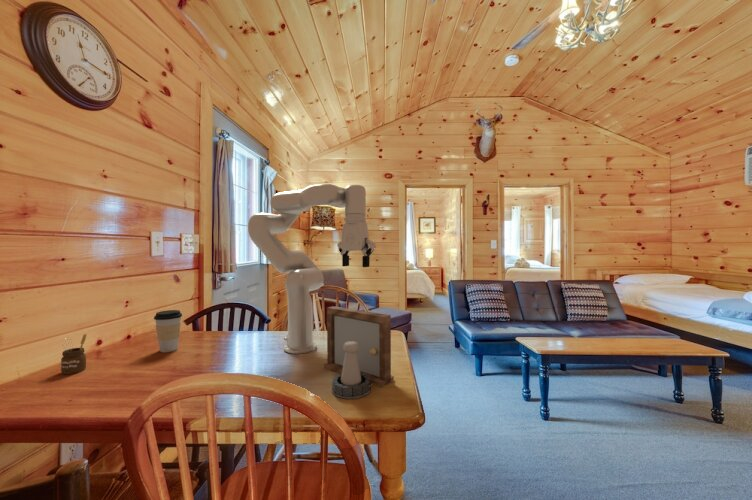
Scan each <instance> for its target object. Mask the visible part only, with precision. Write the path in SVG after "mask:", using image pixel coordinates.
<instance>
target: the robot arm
mask: <svg viewBox="0 0 752 500" xmlns="http://www.w3.org/2000/svg"><path fill="white" fill-rule="evenodd" d="M366 196H367V195H366V188H365V186H363V185H362V184H361V185H360V184H350V185H347V186H346V187H345V188H344V187H340V186H337V185H335V184H331V183H322V184H320V183H319V184H313V185H309V186H306V187H305V188H303V189H298V190H297V189H296V190H290V191H282V192H277V193H275V194H273V196H271V198H270V207H271V208H272V210H273V211H274V212H276V213H278V214H275V213H269V212H260V213H259V212H258V213H255V214H253V215H252V216H250V217H249V220H248V223H247V231H248V235H249V237H250V240H251V241H252V243H254V246H256V247H257V248H258V249H259V250H260V251H261V253H262V254H263V255H264V256H265V258H266V259H267V261H268V262H269V263H270V264H271V265H272V267H274V269H275V270H276V271H277V272H278V273H280V274H287V275H286V277H285V279H284V286H285V291H286V296H287V335H286V336H285V337H284V338H283V340H284V341H286V344H285V345H284V346H283V351H284V352H286V353H289V354H295V355H297V354H298V355H299V354H306V353H307V354H308V353H310V352H312V351H315V350H316V349H317V343H316V342H314V339H313V337H314V335H313V333H314V332H313V330H314V329H313V324H314V323H313V300H312V297H311V294H310V292H313V291H317V290H319V289H320V288H321V287H323V285H324V275H323V273H322V271H321V269H320V268H319V267H318V266H317V265H316V264H315V262H314V261H313V260H312V259H311V257H309V256H308V255H307V254H306V253H305V252H303V251H302V250H297V249H288V248H287V247H286V246H285V244H284V243H282V241H281V240H280V239H279V238H277V237H276V236H274V235H281V234H285V232H287V231H288V230H289V229H290V228H291V227H292V225H293V224H294V222H295V221H296V220H297V219H298V218H299V216H300V215H301V214H302V212H309V211H311V209H312V207H317V206H331V207H334V208H339V209H340V208H341V209H344V218H343V221H344V223H343V226H342V230H341V238H340V239H341V240H340V242H338V243H337V245H336V246H337V249H338V252H339V253H340V255H341V257H342V258H341V260H342V261H341V262H342V263H341V265H342V267H349V266H350V255H349V254H350V253H351V251H355V252H357V251H360V252H361V253H362V260H361V261H362V263H361V264H362V267H363V268H369V267H370V262H371V261H370V257H371V255H372V253H374V249H375V247H376V243H375V242H374V241H372V240H370V236H369V227H368V223H366V221H367V218H366V217H367V215H366V214H367V207H366V206H367V205H366V204H367V203H366V201H367V200H366V199H367V198H366Z"/></svg>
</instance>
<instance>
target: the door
mask: <svg viewBox="0 0 752 500" xmlns="http://www.w3.org/2000/svg"><path fill="white" fill-rule="evenodd" d="M334 329H335V363H336V364H339V365H342V366H343V364H344V358H345V351H344V349H343V346H344V344H345V343H346V342H349V341H354V342H357V343H358V345H359V349H358V351H357V352H356V353H357V359H358V364H359V369H360V371H361V372H365V373H368V374H371V375H374V376H377V377H380V360H379V323H377V322H371V321H366V320H360V319H355V318H349V317H344V316H338V315H335V316H334Z"/></svg>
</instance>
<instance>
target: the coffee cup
mask: <svg viewBox="0 0 752 500" xmlns="http://www.w3.org/2000/svg"><path fill="white" fill-rule="evenodd" d="M182 317H183V313H182V312H181V310H178V309H173V310H172V309H169V310H168V309H167V310H161V311H157V312H156V314H155V315H154V316H153V320H155V330H156V338H157V340H158V341H157V342H158V348H159V349H158V350H159V352H160V353H170V352H175V351H176V350H178V348H179V339H180V336H181V333H180V332H181V324H182V323H181V321H182Z"/></svg>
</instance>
